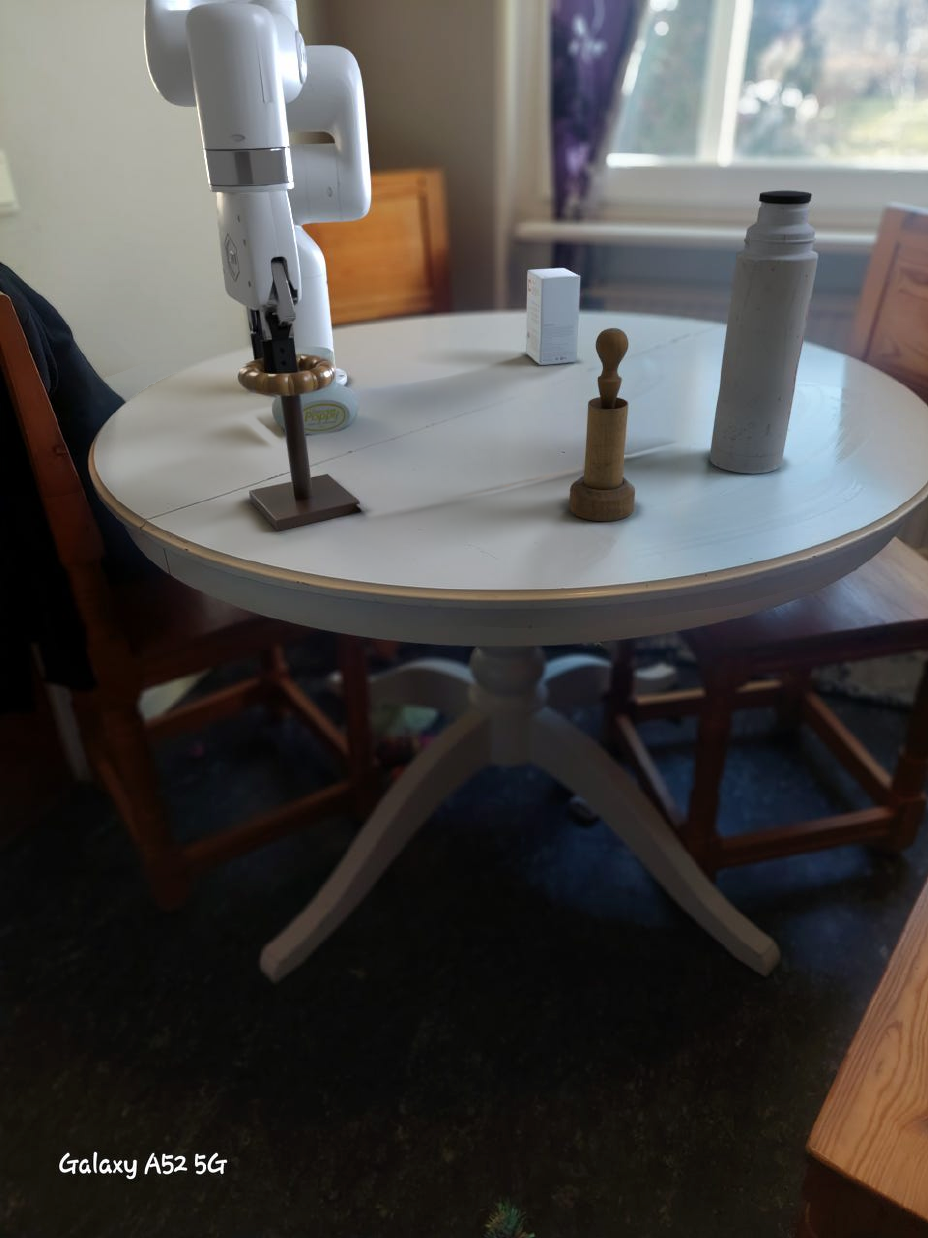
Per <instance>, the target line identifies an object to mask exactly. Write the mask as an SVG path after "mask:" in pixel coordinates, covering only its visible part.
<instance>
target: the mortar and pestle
mask: <svg viewBox="0 0 928 1238" xmlns="http://www.w3.org/2000/svg"><path fill="white" fill-rule="evenodd" d="M628 349H629V338H628V336H627V334H626V332H625V331H623V330H622V329H621V328H618V327H610V328H609V327H608V328H605V329H604V330H601V332H600V333H599V334H598V336H597V337H596V340H595V351H596V353H597V355H598V358H599V360H600V363H601V364H602V371H601V374H600V375H599V376H598V377H597V388H598V392H599V396H598V397H594V398H591V399H590V400H588V401H587V418H586V437H585V454H584V467H583V475H582V476H580V477H579V478H578V479H577V480H575V481H574V482H573V483H572V484H571V485H570V488H569V499H568V509H569V511H570V512H571V513H572V514H573V515H575V516H576V517H578V518H581V519H583V520H587V521H592V522H612V521H613V522H614V521H619V520H623V519H626V518H628V517H630V516H631V515H632V514H633V512H634V509H635V501H636V500H635V498H636V488H635V486H634V485H633V484H632V482H629V480H628V479H627V478H626V477H624V467H625V466H624V465H625V454H626V453H625V450H626V440H627V426H628V417H629V416H628V415H629V401H627V400H626V399H624V398H621V397H618V395H619V391H620V389H621V385H622V381H623V378H622V377H621V376H620V375H619V371H618V370H619V366H620V364H621V362H622V361H623V359H624V358H625V356H626V354H627V352H628Z"/></svg>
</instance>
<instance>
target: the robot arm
mask: <svg viewBox="0 0 928 1238" xmlns="http://www.w3.org/2000/svg"><path fill="white" fill-rule="evenodd" d="M143 10H144V12H143V42H144V43H143V44H144V54H145V62H146V66H147V70H148V73H149V77H150V80H151V82H152V84H153V87H154V88H155V90H156V91H157V93H158V94H159V95H160V96H161V97H162V98H163V99H164V100H165V101H167V102H168V103H170V104H172V105H174V106H178V107H183V108H197V115H198V122H199V128H200V129H199V130H200V134H201V140H202V148H203V153H204V154H203V155H204V161H205V167H206V173H207V179H208V180H207V181H208V186H209V187H208V188H209V192H212V193H216V214H217V224H218V226H217V227H218V235H219V245H220V255H221V263H222V272H223V281H224V288H225V291H226V294H227V295H228V296H229V297H230V298H231V299H233V300H234V301H235V302H238V303H239V304H241V305H243V306H244V307H245V308H246V314H247V322H248V329H249V332H250V335H249V336H250V342H251V349H252V355H253V360H256V359H259V358H262V357H263V363H264V370H265V373H268V374H289V373H296V372H298V369H297V361H296V352H295V349H298V348H305V347H323V348H328V349H330V350H331V351H332V352H333V354H334V355H335V350H334V338H333V337H334V336H333V328H332V316H331V308H330V299H329V298H330V297H329V296H330V295H329V287H328V277H327V266H326V259H325V256H324V254H323V251H322V250H321V248H320V246H319V245H318V244H317V243H316V241H315V240H314V239H313V238H312V237H311V236H310V234H308V233H307V232H306V231H305V229H304V228H303V225H311V224H317V223H318V224H319V223H320V224H322V223H323V224H325V223H343V222H344V223H345V222H355V221H359V220H362V219H363V218H365V217H366V216H367V215H368V213H369V211H370V210H371V209H370V207H371V204H372V180H371V179H372V178H371V167H370V155H369V142H368V130H367V129H368V128H367V116H366V106H365V104H366V103H365V95H364V87H363V85H364V84H363V79H362V74H361V69H360V67H359V64H358V61H357V59H356V57H355V56H354V54H353V53H352V52H351V50H349V49H347V48H345V47H343V46H339V45H331V44H323V45H318V44H317V45H306V43H305V41H304V40H305V39H304V37H303V35H302V34H301V32H300V29H299V20H298V7H297V1H296V0H144V9H143ZM310 132H311V133H314V132H316V133H319V132H324V133H327V134H329V135H330V136H331V137H332V138H333V140H334V142H333V143H331V142H330V143H290V138H289V136H290V135H289V133H310ZM334 363H335V364H336V359H335V357H334ZM335 368H336V382H338V383H340V384H342V385H344V386H345V385H346V384H347V382H348V377H347V376H348V375H347V372H346V371H345V370H344V369H341V368H338V367H335Z"/></svg>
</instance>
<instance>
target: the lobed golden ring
mask: <svg viewBox="0 0 928 1238" xmlns="http://www.w3.org/2000/svg"><path fill="white" fill-rule="evenodd" d="M296 361H297V369H298V372H296V373H289V374H268V373H265V370H264V363H263V357H262V358H259V359H256V360H254V359H253V360H250V361H248V362H245V364H244V365H243V366H242V367H241V368H240V370H239V371H238V373H237V381H238V383H239V384H240V386H242V387H243V388H244V389H245V390H247V391H248V392H250V393H252V394H257V395H263V396H268V397H276V396H293V395H299V394H305V393H310V392H314V391H317V390H319V389H322V388H324V387H327V386H329V385H330V384H331V383H332V381H333V379H334V377H335V375H336V368H337V367H336V365H335V366H334V364H333V363H332V362H330V361H328V360H327V359H325V358H323V357H321V356H315V355H308V354H296Z"/></svg>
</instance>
